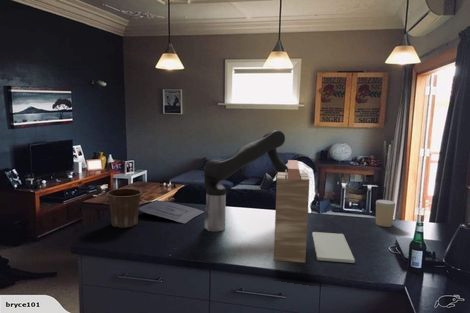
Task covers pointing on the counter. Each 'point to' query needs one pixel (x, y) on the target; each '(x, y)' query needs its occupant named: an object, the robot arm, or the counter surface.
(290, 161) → the bar
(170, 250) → the counter surface
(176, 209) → the papers
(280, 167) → the robot arm
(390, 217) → the coffee cup
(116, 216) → the plant pot
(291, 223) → the stand
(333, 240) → the board
